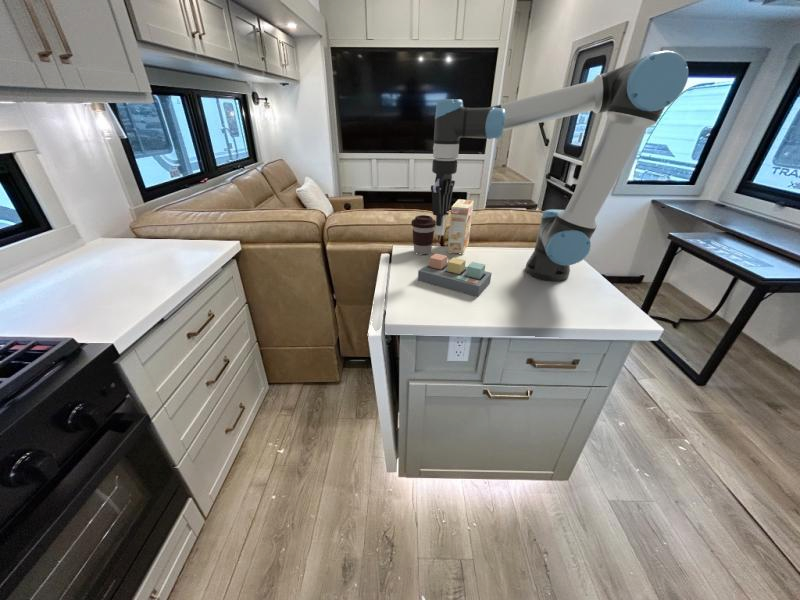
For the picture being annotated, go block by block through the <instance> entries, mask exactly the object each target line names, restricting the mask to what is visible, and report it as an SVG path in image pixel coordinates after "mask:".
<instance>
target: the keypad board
mask: <svg viewBox="0 0 800 600" xmlns="http://www.w3.org/2000/svg"><path fill="white" fill-rule="evenodd" d="M447 268H448V261H447V265H446V266H445V267H444V268H442V269H441V270H440V269H436V268H432V267H429V262H428V263H427V264H425V265H424V266H423V267H421V268H420V269H418V271H417V273H418V274H417V275H418V276H417V281H418V282H420V283H424V284H429V285H431V286H436V287H439V288H441V289H442V288H443V289H446V290H450V291H454V292H457V293H460V294H464V295H468V296H471V297H475V298H479V297H480V295H481V294H483V292H484V291H485V290H486V289H487V287H488V286H489V285H490V284H491V281H492V274H493V273H492V272H491V271H486V270H485V271H484V275H483V276H482V277H481V278H480V279H477V278H473V277H469V276H466V273H467V266H465V270H464V271H463V272H461V273H460V274H457V273H453V272H448V271H447Z"/></svg>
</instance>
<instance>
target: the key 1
mask: <svg viewBox="0 0 800 600" xmlns="http://www.w3.org/2000/svg"><path fill="white" fill-rule="evenodd" d="M447 262H448V255H445V254H439V253H434V254H433V255H431V256H430V257H429V262H428V263H429V267H432V268H436V269H440V270H441V269H442V268H444V267H445V266H446V265H447Z"/></svg>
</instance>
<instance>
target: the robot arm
mask: <svg viewBox="0 0 800 600" xmlns="http://www.w3.org/2000/svg"><path fill="white" fill-rule="evenodd" d="M688 78H689V67H688V63H687V60H686V59H685V57H683V55H681V54H680V53H678V52H675V51H673V50H671V51H670V50H662V51H660V50H659V51H655V52H651V53H649V54H646V55H645V56H643V57H641V58H639V59H635V60H632V61H631V62H628V63H626V64H624V65H622V66H619V67H618V68H616V69H613V70H610V71H608V72H605V73H600V74H597V75H596V76H595V77H594V79H592V80H590V81H589V80H588V81H586V82H582V83H578V84H574V85H570V86H567V87H563V88H559V89H554V90H551V91H547V92H543V93H539V94H536V95H532V96H528V97H523V98H521V99H517V100H516V99H515V100H513V101H509V102H505V103H501V104H497V105H494V106H493V105H492V106H489V107H465V106H464V101H463V99H460V98H458V99H456V98H455V99H453V98H452V99H451V98H448V99H447V98H446V99H445V98H444V99H443V98H442V99H439V100H438V101H437V102H436V106H435V116H434V131H433V133H434V134H433V147H432V150H433V151H432V157H433V158H434V159H433V160H432V168H431V169H432V170H431V171H432V173H434V174H435V180H434V185H431V186H430V191H431V201H432V202H431V203H432V215H433V216H435V221H436V226H435V227H434V235H438V236H444V235H445V231H446V230H445V228H446V227H445V226H446V217H447V216H449V214H450V213H449V211H450V209H451V203H452V198H453V192H454V186H455V184H456V181H455V180H452V179H453V175H454V174H455V175H456V173H457V172H458V171H457V169H458V160H457V159H458V158H459V151H460V139H461V138H469V139H470V138H472V139H488V140H491V139H500V138H501V137H502V136H503V133H504V132H506V131H510V130H514V129H518V128H523V127H528V126H531V125H536V124H540V123H544V122H549V121H553V120H558V119H562V118H566V117H567V118H568V117H570V116H572V117H573V116H575V115H579V114H584V113H588V112H593V113H594V114H601V113H605V112H606V115H607V118H608V122H607V125H606V126H605V129H604V131H603V132H602V135H601V137H600V138H599V141H598V143H597V144H596V148H594V151H593V153H592V155H591V157H590V159H589V162H588V163H587V165H586V167H585V169H584V171H583V173H582V175H581V177H580V180H579V181H578V184H577V186H576V187H575V189H574V192H573V193H572V196H571V197H570V200H569V202H568V204H567V205H566V207H565V209H545V210H544V211H543V213H542V215H541V218H540V224H539V228H538V233H537V237H536V242H535V247H534V250H533V252H532V254H531V256H530V257H529V259H528V260H527V262H526V263H525V264H526V265H525V268H524V271H525V273H526V274H528V275H529V276H531V277H533V278H536V279H539V280H541V281H548V282H549V281H550V282H562V281H565V280H567V279H568V278H569V276H570V273H571V266H573V265H576V264H578V263H580V262H581V261H583V260H584V259H586V257H587V256H588V254H589V253H590V251H591V239H592V236H593V234H594V233H595V231H596V230H597V228H598V226H597V222H596V219H597V216H598V215H599V213H600V211H601V209H602V207H603V206H604V204H605V202H606V200H607V198H608V196H609V194H610V192H611V191H612V189H613V187H614V186H615V184H616V182H617V180H618V178H619V177H620V175H621V173H622V171H623V170H624V168H625V166H626V164H627V163H628V160H629V158H630V157H631V155H632V153H633V151H634V150H635V148H636V147H637V144H638V143H639V141H640V139H641V137H642V135H643V133H644V132H645V130H647V129H648V128H650V127H652V126H654V125H656V124H657V122H658V120H659V118H660V117H661V115H662V113H663V111H664V110H665V108H666V107H668V106H670V105H671V104H672V103H673V102H675V101H676V100H677V99H678V98H679V96H681V94H682V92H683V91H684V89H685V87H686V85H687V83H688Z"/></svg>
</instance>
